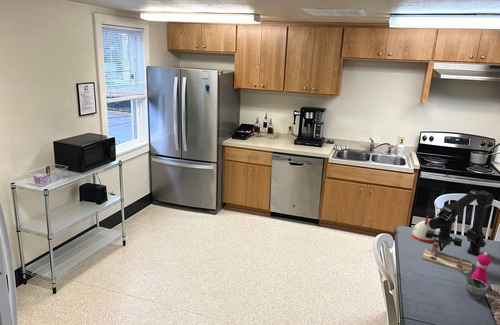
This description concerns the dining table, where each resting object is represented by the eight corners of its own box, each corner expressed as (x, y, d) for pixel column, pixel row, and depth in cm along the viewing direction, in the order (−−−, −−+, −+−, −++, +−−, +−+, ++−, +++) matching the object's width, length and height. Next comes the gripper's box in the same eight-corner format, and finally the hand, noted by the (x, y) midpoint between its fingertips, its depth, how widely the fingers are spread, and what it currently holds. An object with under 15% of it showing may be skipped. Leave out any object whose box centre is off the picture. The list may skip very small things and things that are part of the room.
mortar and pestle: (485, 294, 183) (491, 274, 180) (483, 304, 176) (489, 282, 172) (460, 286, 189) (465, 265, 186) (457, 294, 182) (462, 273, 179)
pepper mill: (487, 291, 185) (497, 257, 180) (472, 289, 187) (481, 255, 181) (482, 283, 192) (490, 250, 187) (467, 281, 194) (475, 248, 188)
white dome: (435, 236, 242) (440, 215, 238) (433, 244, 231) (437, 223, 227) (413, 230, 249) (417, 210, 245) (410, 238, 238) (414, 217, 234)
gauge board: (425, 249, 224) (426, 246, 223) (472, 263, 211) (473, 260, 210) (422, 259, 214) (422, 255, 213) (470, 273, 201) (471, 270, 200)
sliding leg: (432, 249, 221) (433, 242, 220) (437, 251, 220) (439, 243, 218) (429, 257, 213) (431, 249, 211) (435, 258, 211) (436, 251, 210)
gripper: (426, 227, 209) (421, 251, 214) (463, 237, 200) (457, 262, 204) (429, 220, 218) (424, 244, 223) (464, 229, 209) (459, 253, 213)
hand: (440, 251), depth 215 cm, fingers closed
